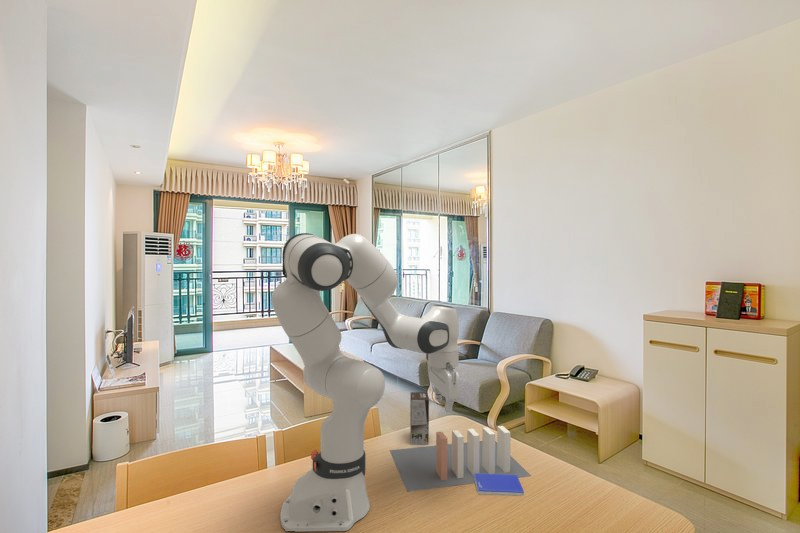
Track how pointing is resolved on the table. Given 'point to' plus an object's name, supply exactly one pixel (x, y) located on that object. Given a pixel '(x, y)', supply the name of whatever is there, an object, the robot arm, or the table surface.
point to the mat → (421, 468)
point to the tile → (441, 455)
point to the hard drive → (498, 484)
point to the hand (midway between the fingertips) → (443, 405)
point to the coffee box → (419, 418)
